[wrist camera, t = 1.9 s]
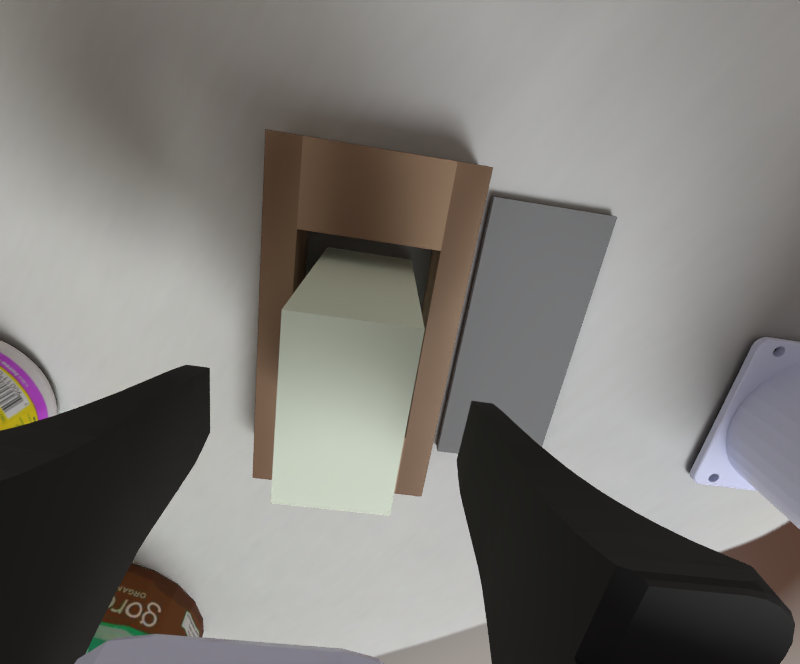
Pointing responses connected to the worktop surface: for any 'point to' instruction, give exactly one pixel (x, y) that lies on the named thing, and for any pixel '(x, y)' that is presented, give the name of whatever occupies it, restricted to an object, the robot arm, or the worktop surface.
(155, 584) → the food container
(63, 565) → the robot arm
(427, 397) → the pocket block
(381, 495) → the sage block
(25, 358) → the supplement bottle
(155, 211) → the worktop surface
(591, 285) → the mat
